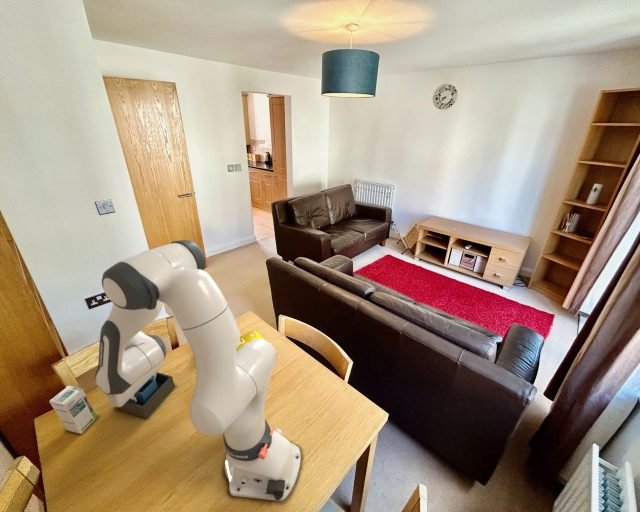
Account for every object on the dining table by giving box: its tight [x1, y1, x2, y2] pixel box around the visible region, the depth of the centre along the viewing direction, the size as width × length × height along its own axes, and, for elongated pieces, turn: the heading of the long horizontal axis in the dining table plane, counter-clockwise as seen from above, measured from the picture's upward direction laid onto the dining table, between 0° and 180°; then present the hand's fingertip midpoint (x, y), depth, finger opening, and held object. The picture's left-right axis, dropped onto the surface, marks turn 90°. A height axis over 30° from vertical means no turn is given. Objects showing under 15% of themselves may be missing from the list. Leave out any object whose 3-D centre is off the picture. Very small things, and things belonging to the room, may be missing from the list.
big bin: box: [115, 371, 176, 419], centre depth 98 cm, size 13×13×6 cm
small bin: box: [134, 378, 158, 405], centre depth 98 cm, size 6×6×6 cm
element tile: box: [236, 330, 265, 352], centre depth 119 cm, size 15×15×5 cm
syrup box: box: [49, 385, 98, 435], centre depth 87 cm, size 6×6×14 cm
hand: (144, 391), depth 98 cm, fingers closed on small bin, 6 cm apart
